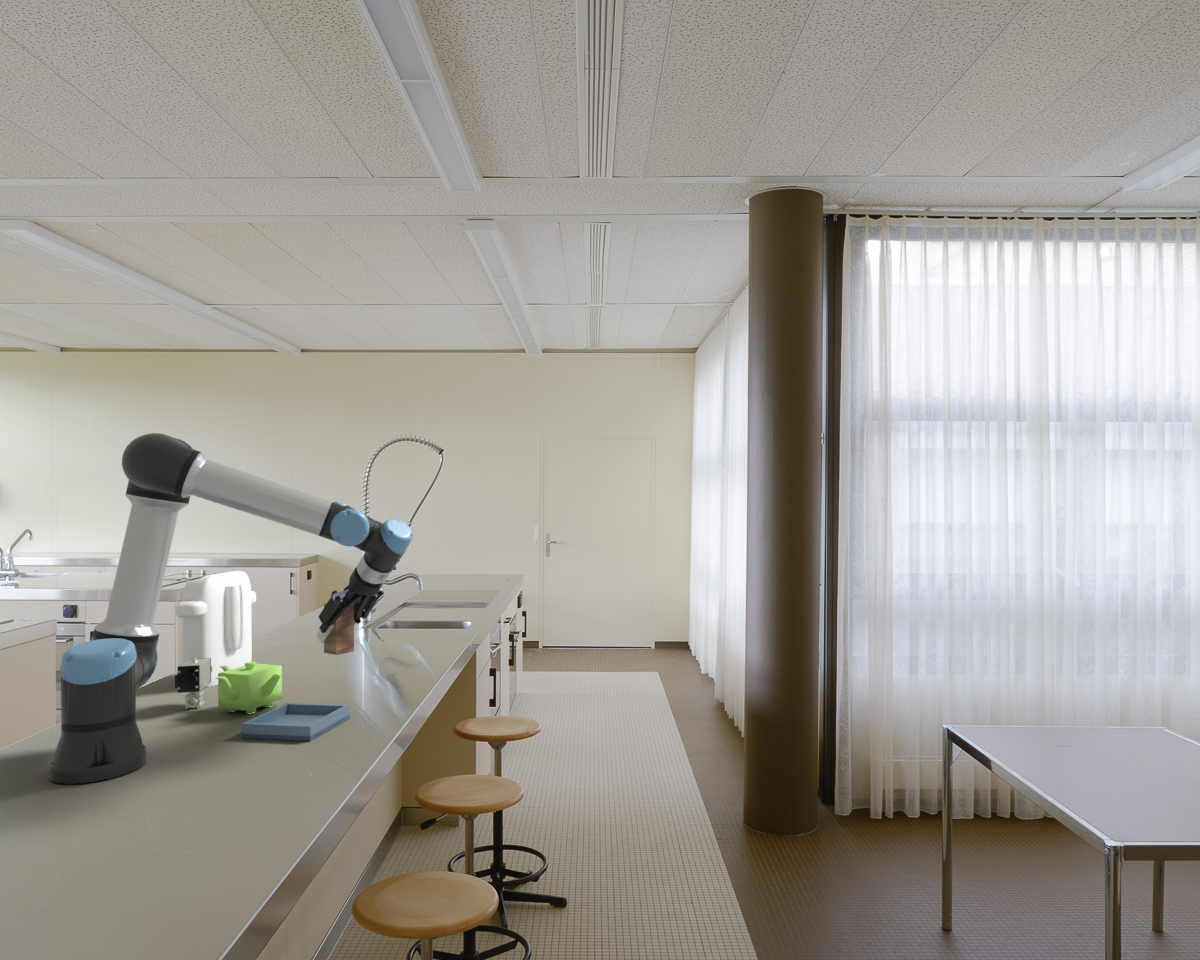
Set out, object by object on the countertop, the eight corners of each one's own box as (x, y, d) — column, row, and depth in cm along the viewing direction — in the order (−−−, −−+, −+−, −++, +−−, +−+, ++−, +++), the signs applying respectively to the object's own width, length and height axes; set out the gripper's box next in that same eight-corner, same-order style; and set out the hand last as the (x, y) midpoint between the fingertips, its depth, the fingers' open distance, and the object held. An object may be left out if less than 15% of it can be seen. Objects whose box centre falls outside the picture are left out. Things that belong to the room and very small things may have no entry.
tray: (310, 741, 152) (310, 726, 152) (241, 738, 155) (241, 723, 155) (350, 718, 168) (350, 705, 168) (286, 715, 171) (286, 702, 171)
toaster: (208, 692, 193) (207, 578, 194) (170, 691, 195) (169, 578, 196) (270, 668, 220) (269, 568, 221) (236, 668, 222) (235, 568, 223)
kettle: (215, 721, 168) (215, 672, 168) (215, 707, 180) (214, 660, 180) (286, 711, 175) (286, 663, 175) (281, 698, 187) (281, 653, 187)
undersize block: (336, 654, 177) (336, 594, 178) (324, 652, 180) (324, 593, 181) (354, 651, 181) (353, 592, 182) (341, 649, 184) (341, 591, 185)
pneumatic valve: (212, 699, 186) (212, 652, 187) (197, 712, 175) (196, 662, 175) (189, 701, 185) (188, 653, 186) (171, 714, 174) (171, 663, 174)
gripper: (344, 589, 165) (302, 655, 174) (408, 582, 179) (367, 642, 189) (330, 565, 168) (290, 630, 178) (394, 559, 183) (354, 620, 192)
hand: (330, 636), depth 183 cm, fingers closed on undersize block, 5 cm apart
